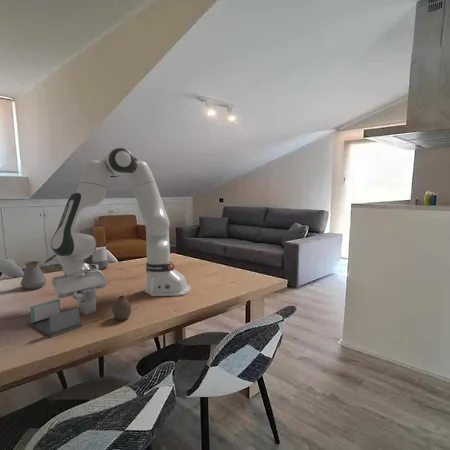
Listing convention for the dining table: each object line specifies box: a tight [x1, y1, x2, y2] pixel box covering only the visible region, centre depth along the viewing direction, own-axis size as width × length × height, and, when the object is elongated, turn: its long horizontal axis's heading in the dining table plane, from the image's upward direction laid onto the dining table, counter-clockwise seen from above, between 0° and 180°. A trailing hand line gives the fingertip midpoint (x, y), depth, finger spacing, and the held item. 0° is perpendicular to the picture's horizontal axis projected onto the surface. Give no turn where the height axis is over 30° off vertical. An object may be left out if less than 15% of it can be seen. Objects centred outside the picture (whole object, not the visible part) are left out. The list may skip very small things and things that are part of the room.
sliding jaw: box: [29, 298, 62, 323], centre depth 123 cm, size 2×10×6 cm, turn 143°
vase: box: [112, 295, 132, 321], centre depth 125 cm, size 7×7×9 cm
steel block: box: [78, 288, 97, 315], centre depth 132 cm, size 4×4×9 cm
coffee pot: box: [20, 254, 57, 291], centre depth 169 cm, size 21×12×15 cm, turn 154°
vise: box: [27, 306, 83, 338], centre depth 119 cm, size 18×11×7 cm, turn 53°
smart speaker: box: [91, 245, 109, 271], centre depth 202 cm, size 10×9×14 cm
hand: (88, 300), depth 131 cm, fingers closed on steel block, 4 cm apart
